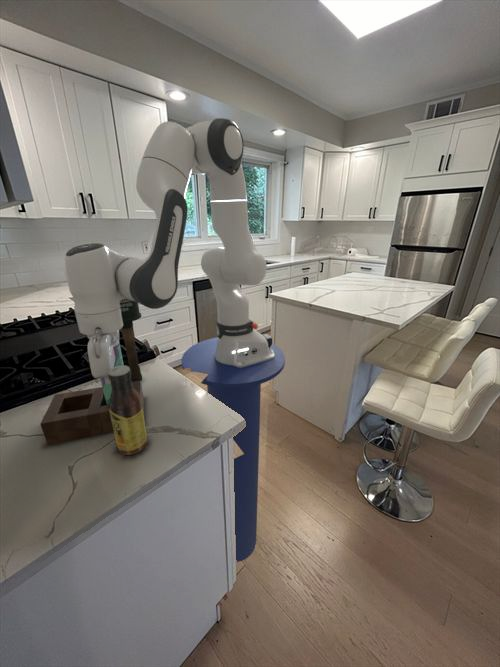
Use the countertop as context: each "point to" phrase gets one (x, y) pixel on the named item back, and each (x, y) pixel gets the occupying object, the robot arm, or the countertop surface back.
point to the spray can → (118, 362)
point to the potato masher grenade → (130, 335)
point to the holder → (79, 415)
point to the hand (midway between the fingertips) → (111, 374)
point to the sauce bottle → (126, 412)
